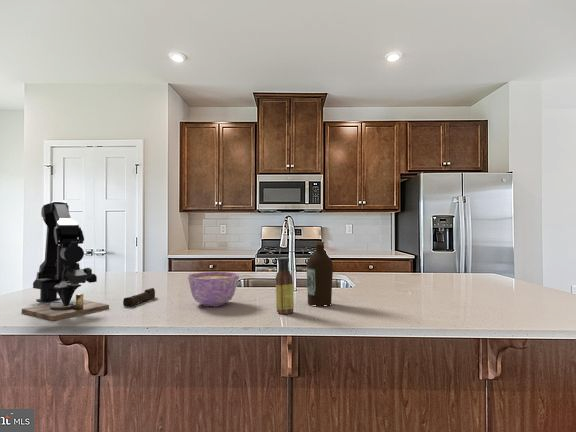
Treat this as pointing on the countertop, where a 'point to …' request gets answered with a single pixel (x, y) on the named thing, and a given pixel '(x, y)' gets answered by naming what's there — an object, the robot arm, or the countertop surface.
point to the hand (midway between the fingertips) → (66, 306)
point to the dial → (73, 303)
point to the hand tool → (139, 297)
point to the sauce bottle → (284, 287)
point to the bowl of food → (213, 287)
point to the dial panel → (63, 310)
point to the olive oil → (319, 277)
